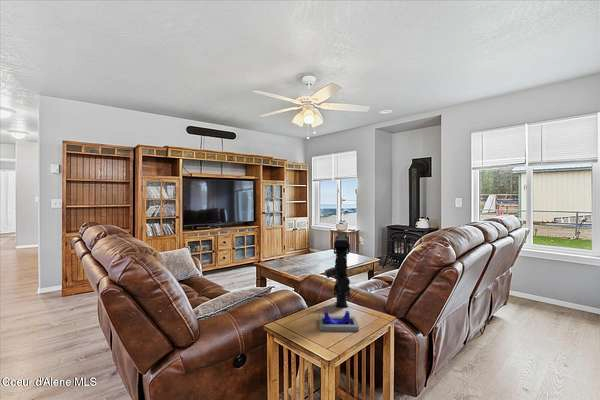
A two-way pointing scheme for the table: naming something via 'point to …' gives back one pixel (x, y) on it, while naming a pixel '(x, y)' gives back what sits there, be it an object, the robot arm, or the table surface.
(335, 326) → the gray rectangular open frame
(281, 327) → the table surface
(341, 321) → the blue curved bracket
